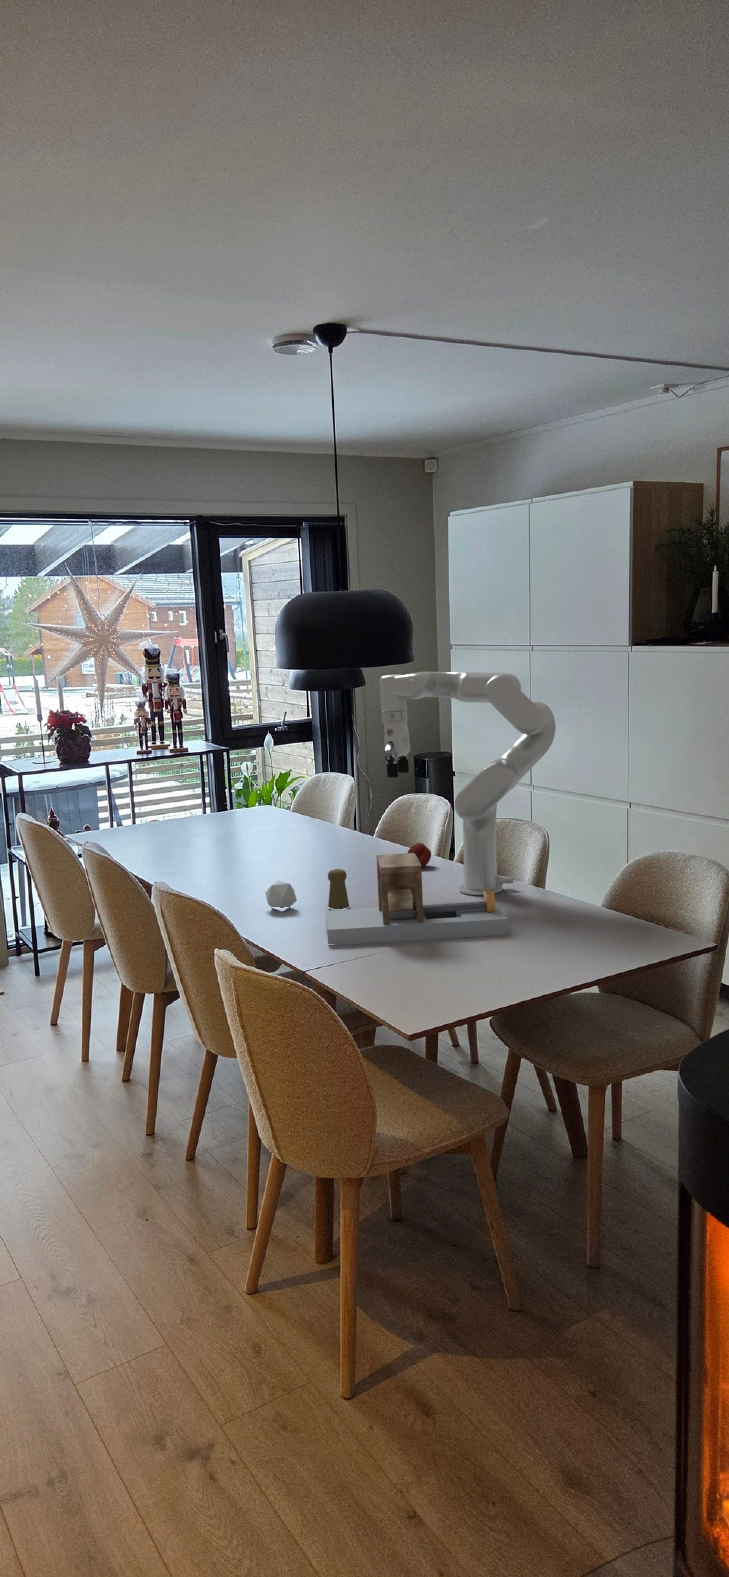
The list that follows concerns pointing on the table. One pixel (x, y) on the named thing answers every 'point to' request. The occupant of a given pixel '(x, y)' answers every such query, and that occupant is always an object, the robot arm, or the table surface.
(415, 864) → the tunnel
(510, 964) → the table surface
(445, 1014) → the table surface
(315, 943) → the table surface
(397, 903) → the block
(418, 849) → the apple
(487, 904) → the sled
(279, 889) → the die
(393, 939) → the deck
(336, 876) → the tan pawn
